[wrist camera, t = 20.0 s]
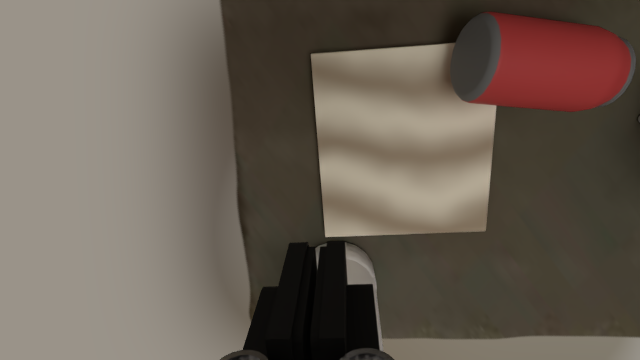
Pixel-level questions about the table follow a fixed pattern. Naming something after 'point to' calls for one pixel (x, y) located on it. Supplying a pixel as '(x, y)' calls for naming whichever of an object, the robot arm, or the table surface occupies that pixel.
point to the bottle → (359, 274)
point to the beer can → (539, 63)
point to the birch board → (399, 143)
